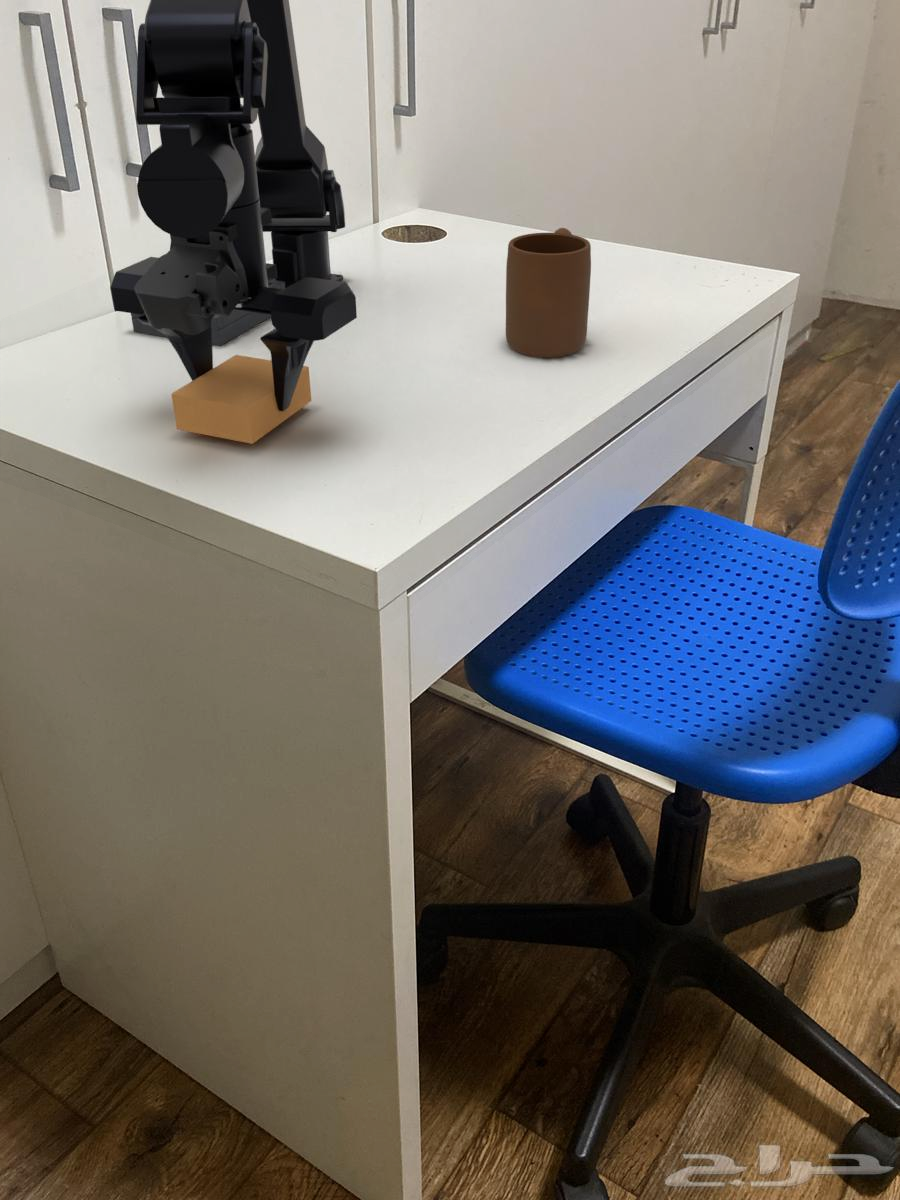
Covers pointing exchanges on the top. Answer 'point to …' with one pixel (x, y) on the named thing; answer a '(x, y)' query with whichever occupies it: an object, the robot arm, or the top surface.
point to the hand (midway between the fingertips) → (244, 402)
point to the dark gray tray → (220, 322)
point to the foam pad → (236, 400)
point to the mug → (547, 293)
